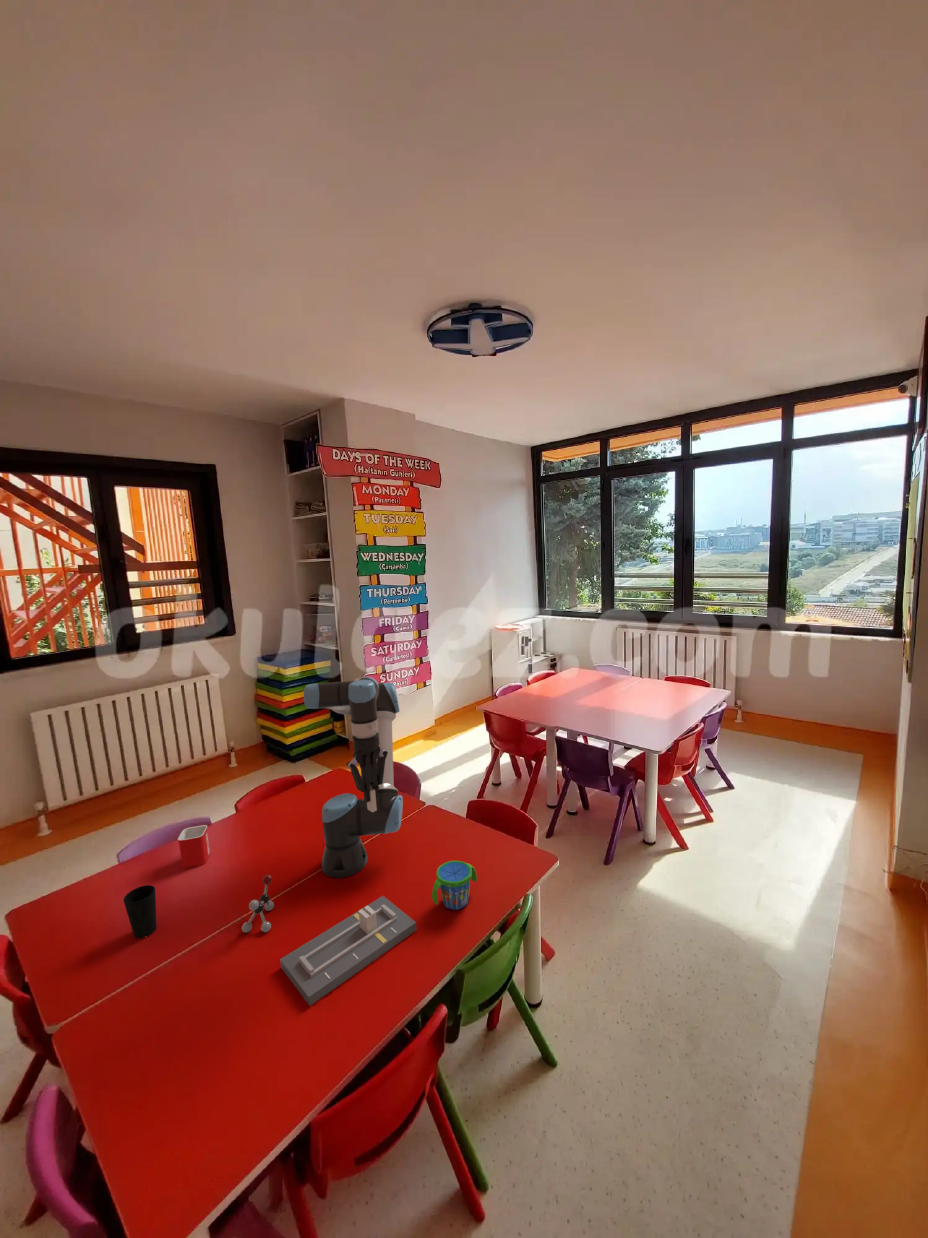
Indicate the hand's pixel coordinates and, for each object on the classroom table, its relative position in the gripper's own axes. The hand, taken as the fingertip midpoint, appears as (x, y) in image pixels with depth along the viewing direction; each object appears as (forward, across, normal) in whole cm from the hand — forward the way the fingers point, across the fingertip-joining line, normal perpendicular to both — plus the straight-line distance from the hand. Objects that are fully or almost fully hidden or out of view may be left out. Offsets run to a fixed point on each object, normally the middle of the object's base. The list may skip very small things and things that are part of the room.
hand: (372, 809), depth 148 cm
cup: (+30, -54, +40) cm, 73 cm away
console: (+29, -16, -10) cm, 35 cm away
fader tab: (+27, -10, -10) cm, 30 cm away
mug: (+30, -32, +68) cm, 81 cm away
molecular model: (+30, -28, +19) cm, 45 cm away
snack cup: (+30, +15, -18) cm, 38 cm away
